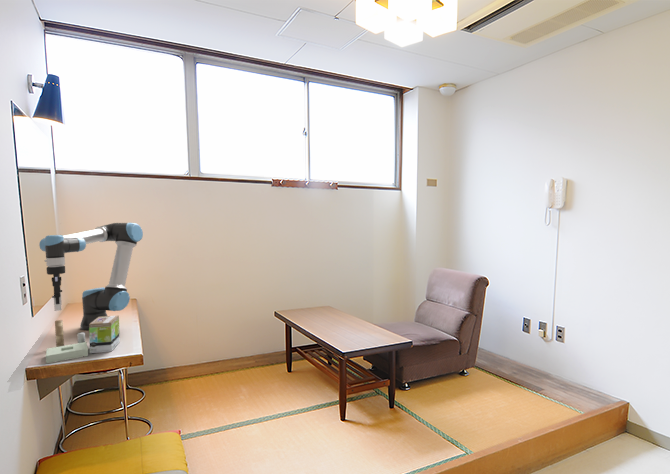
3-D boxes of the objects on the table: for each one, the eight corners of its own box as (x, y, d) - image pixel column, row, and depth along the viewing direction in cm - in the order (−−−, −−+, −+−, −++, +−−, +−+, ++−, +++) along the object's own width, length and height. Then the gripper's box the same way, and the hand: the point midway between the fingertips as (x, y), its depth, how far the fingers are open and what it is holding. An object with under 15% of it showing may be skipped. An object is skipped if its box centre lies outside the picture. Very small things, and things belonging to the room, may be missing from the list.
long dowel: (64, 346, 196) (62, 319, 195) (64, 348, 193) (62, 320, 192) (56, 347, 194) (54, 320, 193) (56, 349, 191) (54, 321, 190)
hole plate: (87, 348, 192) (86, 341, 191) (88, 355, 182) (87, 348, 182) (47, 355, 182) (46, 348, 182) (46, 363, 173) (45, 356, 172)
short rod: (85, 345, 197) (84, 332, 196) (85, 347, 194) (85, 333, 194) (78, 346, 195) (77, 333, 194) (78, 348, 192) (77, 334, 192)
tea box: (112, 351, 187) (111, 322, 186) (89, 354, 184) (87, 324, 183) (120, 342, 201) (119, 314, 201) (98, 344, 199) (97, 316, 198)
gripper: (47, 264, 199) (49, 304, 200) (45, 269, 179) (48, 314, 180) (64, 262, 203) (67, 302, 204) (65, 267, 183) (67, 311, 184)
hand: (58, 307), depth 192 cm, fingers open, 13 cm apart
